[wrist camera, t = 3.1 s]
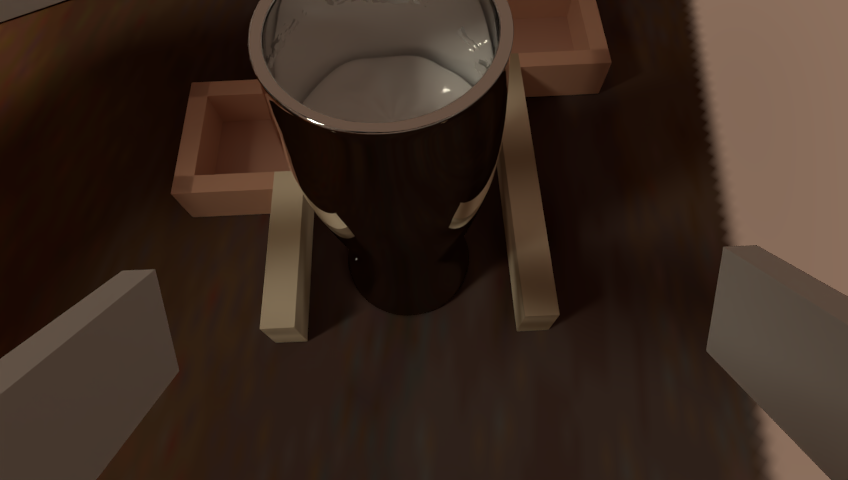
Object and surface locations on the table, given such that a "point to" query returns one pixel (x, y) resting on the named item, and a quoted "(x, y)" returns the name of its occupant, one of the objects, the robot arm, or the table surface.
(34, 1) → the gable box
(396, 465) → the table surface
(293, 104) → the beer glass
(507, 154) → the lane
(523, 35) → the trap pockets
